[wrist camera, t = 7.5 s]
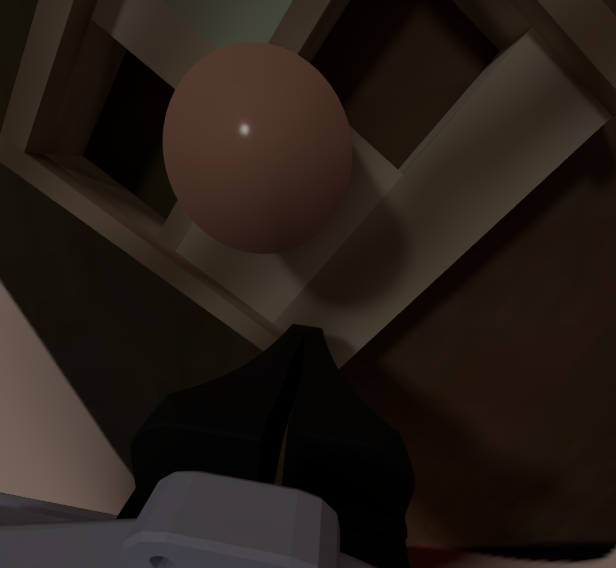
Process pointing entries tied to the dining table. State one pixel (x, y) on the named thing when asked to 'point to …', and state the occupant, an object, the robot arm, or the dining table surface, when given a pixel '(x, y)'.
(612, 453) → the dining table surface
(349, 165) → the brown rounded lump
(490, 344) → the dining table surface
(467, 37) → the dining table surface
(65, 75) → the wooden frame
